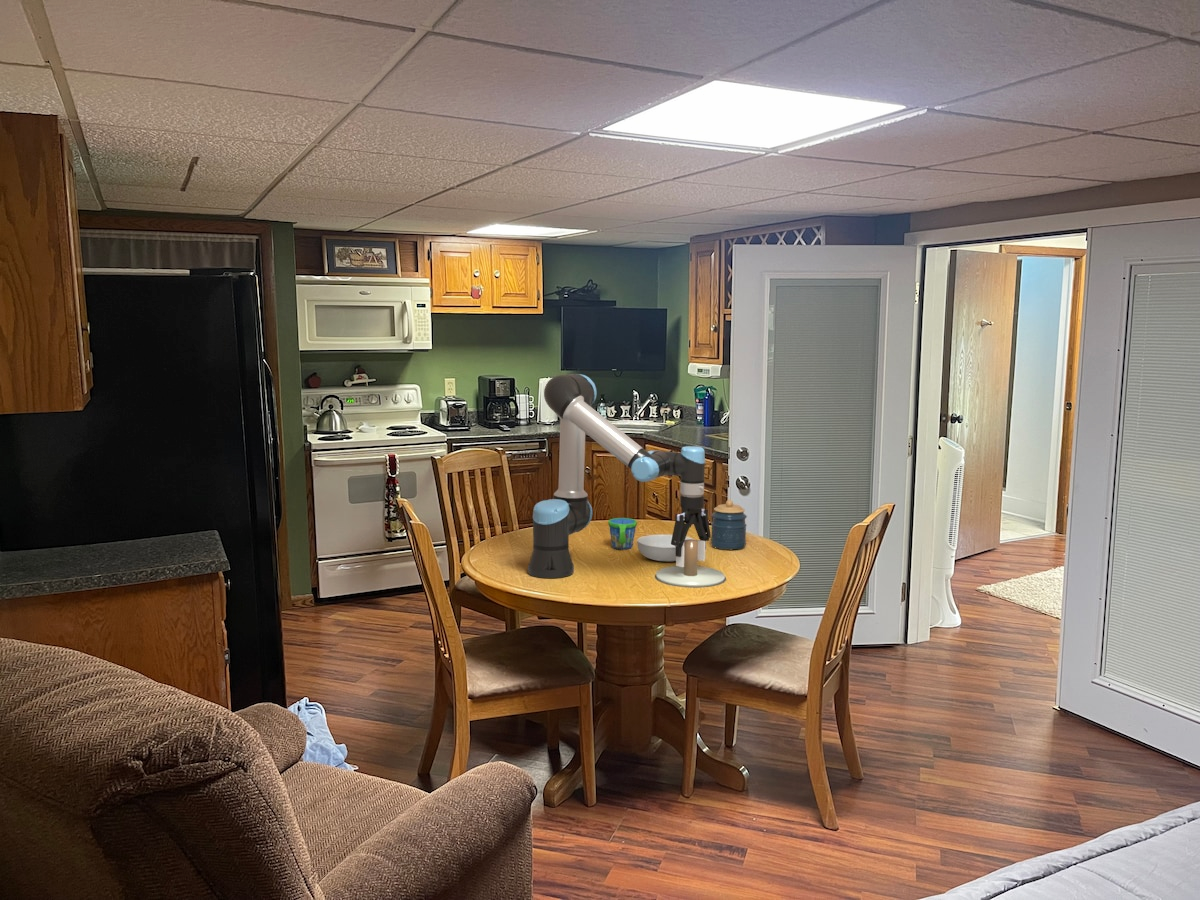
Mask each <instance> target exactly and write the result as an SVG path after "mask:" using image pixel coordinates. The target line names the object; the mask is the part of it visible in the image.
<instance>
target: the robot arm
mask: <svg viewBox="0 0 1200 900" xmlns="http://www.w3.org/2000/svg"><path fill="white" fill-rule="evenodd" d="M543 398H544V401H545V403H546V405H547V406H548V407H549V408H550V410H551V411H553V412H554V413H555V414H556V416H557V417H558V418H559V420H560V422H559V455H558V457H559V458H558V488H557V490H555V491H554V493H553V498H552V499H551V498H550V499H547V500H546V499H544V500H541V501H539V502H537V503H536V504H535V505H534V507H533V508H532V509H533V512H532V552H531V557H530V558H529V559H530V560H529V563H528V565H527V573H529V574H528V575H530V576H532V577H534V578H540V579H560V578H561V579H562V578H566V577H569V576H571V575H573V574H575V573H574V572H575V570H574V569H575V568H574V563H573V560H572V556H571V553H570V549H569V547H570V546H569V543H570V542H569V541H570V540H569V539H570V538H569V536H571V535H573V534H575V533H579V532H580V531H582V530H584V529H585V528H586V527H588V525H589V524H590V522H591V521H592V518H593V507H592V504H590V502H589V497H588V493H587V492H586V491H585V489H584V488H585V487H584V486H585V485H584V484H585V459H586V458H585V454H586V453H585V451H586V449H585V448H586V435H587V436H589V437H590V438H591V439H593V440H594V441H595V442H596V443H597V444H598V445H600V446H601V447H602V448H604V449H605V450H606V451H607V452H608V453H609V454H611V455H612V456H613V457H615V458H616V459H617V460H618V461H620V462H621V463H622V464H624V465H625V466H626V467H627V468H629V469H630V470H631V474H632V476H633V478H634V479H635V480H637V481H639V482H643V483H645V482H651V481H653V480H655V479H657V478H661V477H664V476H677V477H679V476H680V489H679V491H680V492H679V493H680V497H679V498H680V499H679V506H680V508H681V509H682V511H681V513H680V514H679V513H675V516H674V517H675V518H674V519H675V520H674V521H675V522H674V526H673V531H672V534H671V535H672V540H671V545H674V546H675V547H676V561H675V566H679V567H684V547H683V544H684V541H685V538H686V537H687V535H688V533H689V530H690V528H691V527H692V526H694V528H695V531H696V534H697V537H698V540H697V539H696V540H697V541H698V561H700V562H705V561H706V549H707V542H709V541H710V538H711V528H710V523H709V517H708V516H709V515H708V513H709V510H708V509H705V508H704V507H705V497H704V494H705V471H706V470H705V469H706V458H705V457H706V455H705V454H706V453H705V449H704V448H703V447H701V446H696V445H695V446H693V445H692V446H689V445H687V446H683V447H682V448H681V449H680V452H677V451H675V452H674V451H664V450H659V449H658V450H648V451H647V450H646V449H644V448H643V446H641V445H639V443H637V442H636V441H634V440H633V439H632V438H631V437H629V436H628V435H627V434H626V433H624V432H623V431H622V430H621V429H619V428H618V427H617V426H616V425H615V424H613V423H612V422H611V421H609V420H608V419H607V418H606V417H605V416H603V415H601V414H600V413H599V412H598V411H596V410H595V409H594V408H593V407H592V405H593V404H594V403H595V401H596V399H597V387H596V384H595V382H594V381H593V380H592V379H591V378H590V377H589V376H587V375H585V374H581V373H570V374H559V375H556V376H554V377H553V376H552V378H550V379H549V380H548V381H547V383H546V384H545V387H544V389H543Z"/></svg>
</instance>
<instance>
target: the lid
mask: <svg viewBox="0 0 1200 900" xmlns="http://www.w3.org/2000/svg"><path fill="white" fill-rule="evenodd" d="M693 539H694V538H693ZM693 539H688V540H685V541H684V567H679V566H676V565H672V566H666V567H662V568H660V569H658V570H657V571H656V573H655V574H656V578H657V579H658V580H659V581H661V582H664V583H667V584H670V585H669V586H672V585H675V586H674V587H678V586H683V587H682V588H688V587H702V588H707V587H706V586H712V587H714V586H713V585H717V584H720V583H722V582H723V581H724V580H725V577H726V575H725V573H724V572H722V571H721V570H718V569H716V568H713V567H709V566H701V565H698V563H699V562H698V561H699V560H698V541H697V539H695V540H693ZM658 580H657V581H658ZM659 581H658V582H659ZM661 582H660V583H661ZM664 583H663V584H664ZM667 584H666V585H667ZM722 584H723V583H722ZM720 585H721V584H720ZM717 586H718V585H717Z"/></svg>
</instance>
